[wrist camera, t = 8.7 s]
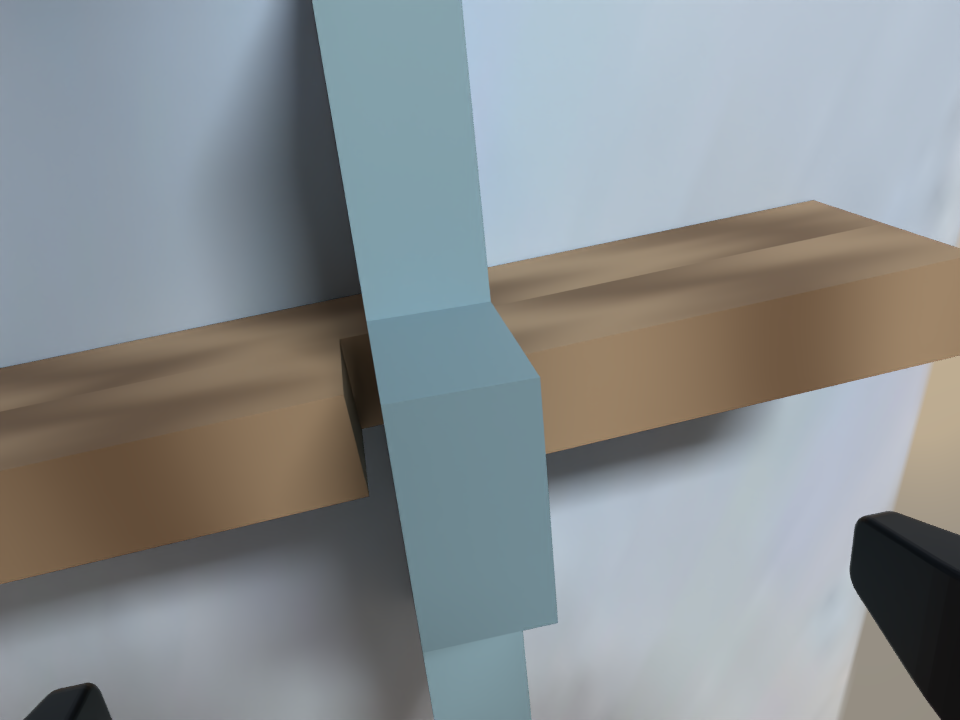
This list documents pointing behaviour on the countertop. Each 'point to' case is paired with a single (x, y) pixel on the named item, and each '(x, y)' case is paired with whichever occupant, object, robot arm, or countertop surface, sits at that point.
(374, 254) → the slate-blue slotted plate
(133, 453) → the walnut slotted board
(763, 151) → the countertop surface
